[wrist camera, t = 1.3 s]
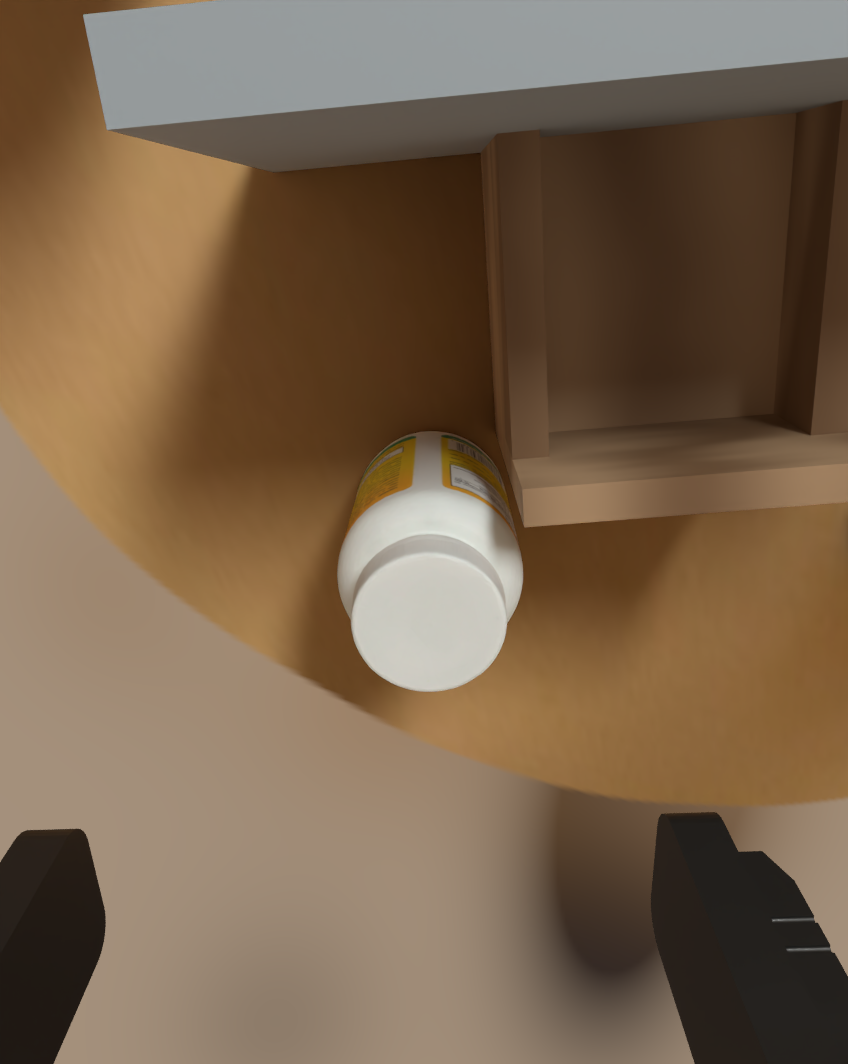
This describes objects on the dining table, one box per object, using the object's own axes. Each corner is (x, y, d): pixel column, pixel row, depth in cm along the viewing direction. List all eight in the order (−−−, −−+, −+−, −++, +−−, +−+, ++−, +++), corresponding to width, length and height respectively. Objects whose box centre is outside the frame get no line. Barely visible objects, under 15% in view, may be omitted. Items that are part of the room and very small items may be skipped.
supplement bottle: (505, 426, 28) (542, 525, 19) (503, 565, 30) (535, 714, 21) (352, 429, 28) (317, 529, 19) (360, 568, 30) (331, 717, 21)
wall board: (999, 47, 24) (1690, -152, 11) (991, 103, 24) (1637, -21, 11) (265, 118, 25) (82, 14, 12) (273, 172, 25) (106, 129, 12)
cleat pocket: (773, 124, 25) (951, 79, 16) (754, 412, 28) (894, 498, 20) (480, 152, 25) (506, 122, 17) (495, 433, 28) (524, 527, 20)
